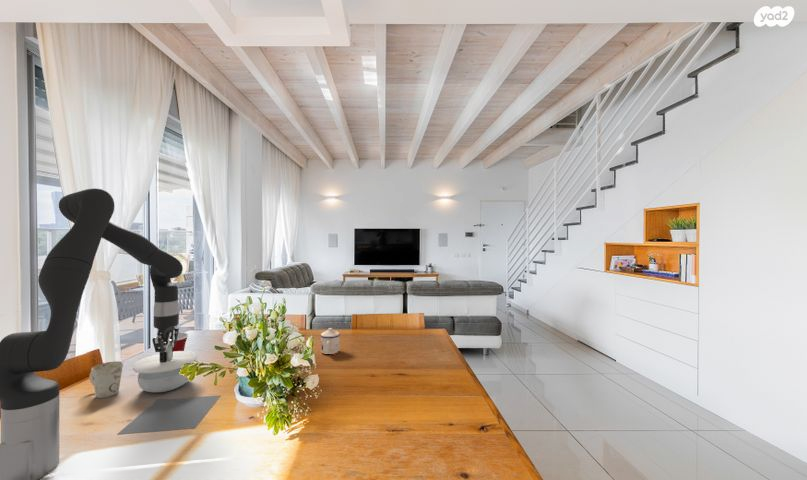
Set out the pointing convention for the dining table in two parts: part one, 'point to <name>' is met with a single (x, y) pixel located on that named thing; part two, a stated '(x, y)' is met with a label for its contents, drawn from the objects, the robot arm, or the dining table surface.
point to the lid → (172, 363)
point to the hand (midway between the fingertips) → (166, 359)
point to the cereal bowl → (161, 381)
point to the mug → (106, 378)
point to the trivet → (171, 415)
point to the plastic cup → (180, 341)
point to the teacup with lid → (330, 341)
